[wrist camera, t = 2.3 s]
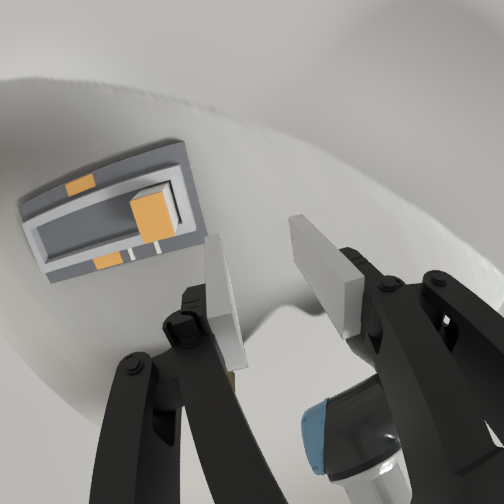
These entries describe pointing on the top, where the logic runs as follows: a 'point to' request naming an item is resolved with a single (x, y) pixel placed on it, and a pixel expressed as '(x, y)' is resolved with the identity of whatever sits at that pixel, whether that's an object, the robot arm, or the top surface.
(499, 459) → the robot arm
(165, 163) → the console board
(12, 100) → the top surface
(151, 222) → the fader tab
